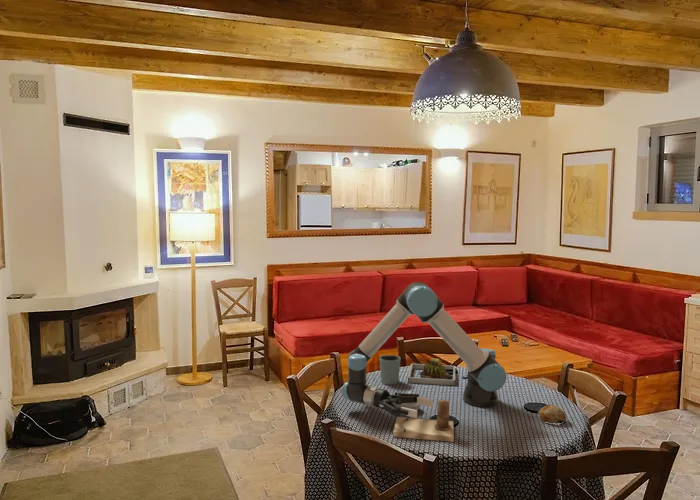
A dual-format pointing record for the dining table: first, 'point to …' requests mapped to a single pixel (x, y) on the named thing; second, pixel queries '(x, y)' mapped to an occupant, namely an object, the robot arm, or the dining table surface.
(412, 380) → the plant tray
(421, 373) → the cactus
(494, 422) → the dining table surface
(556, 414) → the bread roll
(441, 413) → the brown flanged cylinder
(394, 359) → the green cup
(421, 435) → the board
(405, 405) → the saucepan
